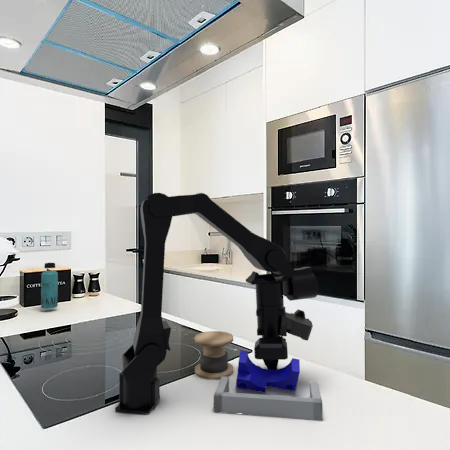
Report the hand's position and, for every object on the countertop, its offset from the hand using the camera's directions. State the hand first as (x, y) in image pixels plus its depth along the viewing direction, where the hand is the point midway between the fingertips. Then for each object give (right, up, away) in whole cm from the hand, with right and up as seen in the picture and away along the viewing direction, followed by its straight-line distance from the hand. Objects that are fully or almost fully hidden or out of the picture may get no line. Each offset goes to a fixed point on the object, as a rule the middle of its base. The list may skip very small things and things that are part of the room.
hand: (273, 376), depth 75 cm
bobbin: (-13, -2, +7) cm, 15 cm away
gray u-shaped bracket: (-2, -2, -9) cm, 9 cm away
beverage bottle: (-83, -4, +72) cm, 110 cm away
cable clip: (-2, -1, -2) cm, 3 cm away
